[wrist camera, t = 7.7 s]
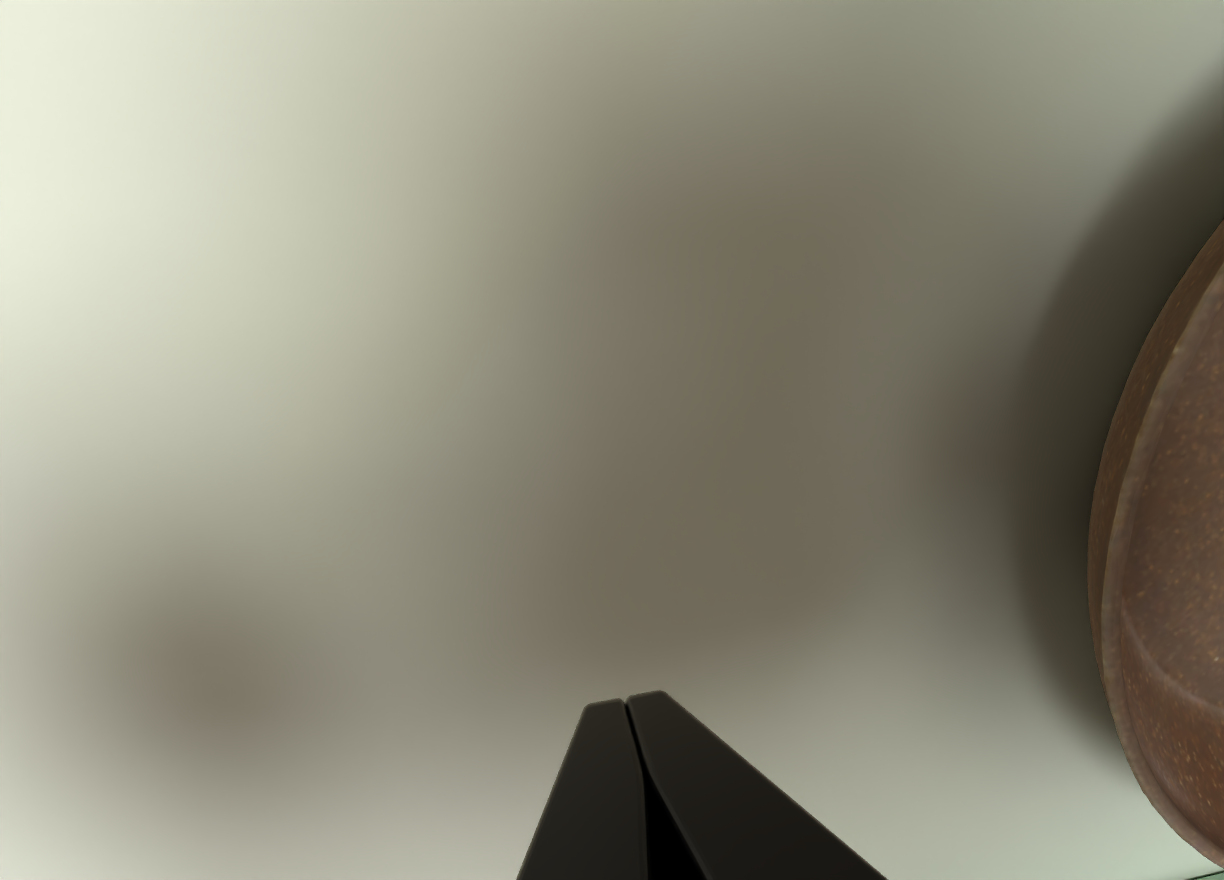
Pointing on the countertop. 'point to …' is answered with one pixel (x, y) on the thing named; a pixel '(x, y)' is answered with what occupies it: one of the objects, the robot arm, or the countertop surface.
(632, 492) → the countertop surface
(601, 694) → the countertop surface
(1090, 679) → the countertop surface
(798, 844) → the robot arm
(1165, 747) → the saucer
